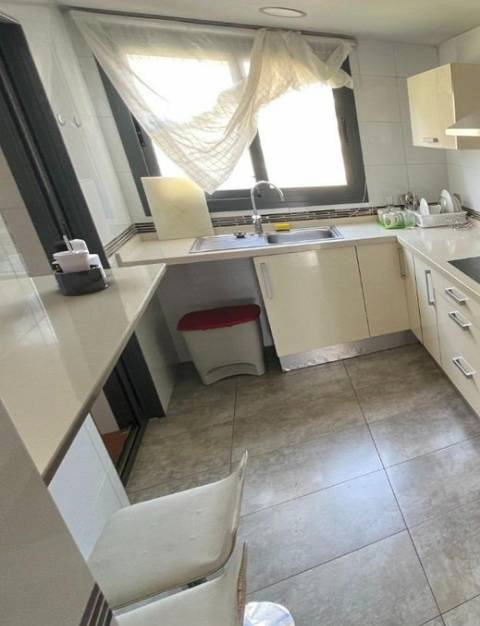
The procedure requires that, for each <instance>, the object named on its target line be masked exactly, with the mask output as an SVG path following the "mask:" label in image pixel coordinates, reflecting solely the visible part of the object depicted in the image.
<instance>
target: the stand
mask: <svg viewBox="0 0 480 626" xmlns="http://www.w3.org/2000/svg"><path fill="white" fill-rule="evenodd" d="M89 266H90V269H88V270H83V271H77V272H69V273H64V271H63V270H62V268H61V269H58V270H53V271H52V272H51V274H52V276H53V278H54V280H55V283H56V285H57V287H58V290H59V292H60V293H61V295H62V296H63V297H75V296H84V295H89V294H94V293H98V292H101V291H104V290H106V289H108V287H109V286H108V282H107V280H106V279H105V277H104V274H103V272H102V269H101V267H100V265H98V264H89Z"/></svg>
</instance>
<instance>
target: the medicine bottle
mask: <svg viewBox="0 0 480 626" xmlns="http://www.w3.org/2000/svg"><path fill="white" fill-rule="evenodd" d="M68 242H69V244H70V247H71V249H72V250H87V252H88V255H87V257H88V261H89V264H98V265H100V267H101V269H102V272H103V274H104V277H105V280H106V278H107V275H106V273H105V270H104V268H103V267H104V266H103V265H102V262H101V259H100V256H99V255H98V254H97V253H94V254H92V253H91V254H90V252H89V249H88V245H87V244H86V242H85V240H83V239H78V238H73V239H68ZM53 248H54V250H55V253H59V252H64V251H69V250H68V247H67V245H66V242H65V240H64V239H63V240H59V241H56V242H54V243H53ZM51 265H52V267H53V271H55V270H58V269H61V266H60V265H59V263H58V262H57V260H56V261H53V262H52V263H51Z"/></svg>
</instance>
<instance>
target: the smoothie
mask: <svg viewBox="0 0 480 626" xmlns="http://www.w3.org/2000/svg"><path fill="white" fill-rule="evenodd" d="M63 240H65V242H66V245H67V247H68V250H69V251H64V252H59V253H56V252H55V253H54V254H52V257H53V259H54V260H56V261H57V262H58V263H59V265H60V266H61V268H62V270H63V271H64V273H69V272H77V271H83V270H88V269H90V266H89V261H88V257H87V255H89V254H88V252H87V250H72V249H71V247H70V244H69V242H68V240H69V239H68V237H67V235H63Z"/></svg>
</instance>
